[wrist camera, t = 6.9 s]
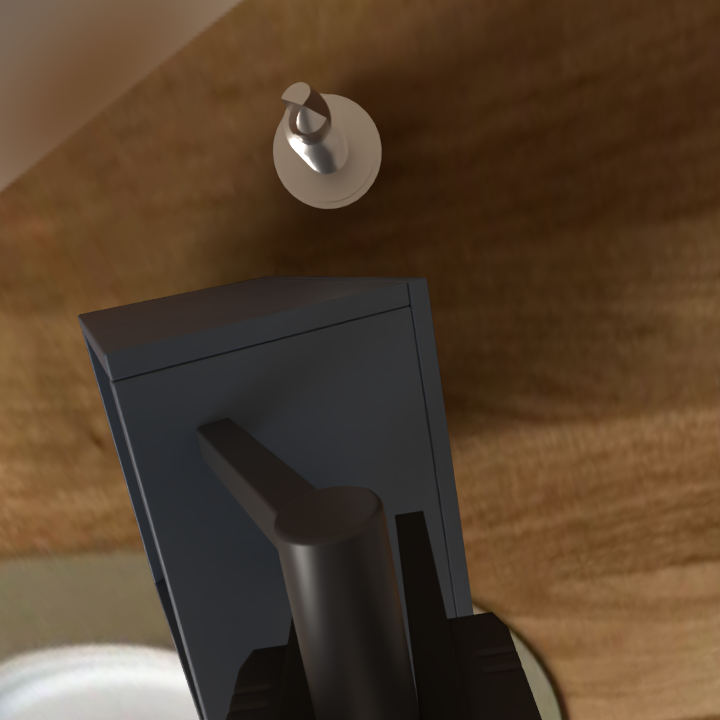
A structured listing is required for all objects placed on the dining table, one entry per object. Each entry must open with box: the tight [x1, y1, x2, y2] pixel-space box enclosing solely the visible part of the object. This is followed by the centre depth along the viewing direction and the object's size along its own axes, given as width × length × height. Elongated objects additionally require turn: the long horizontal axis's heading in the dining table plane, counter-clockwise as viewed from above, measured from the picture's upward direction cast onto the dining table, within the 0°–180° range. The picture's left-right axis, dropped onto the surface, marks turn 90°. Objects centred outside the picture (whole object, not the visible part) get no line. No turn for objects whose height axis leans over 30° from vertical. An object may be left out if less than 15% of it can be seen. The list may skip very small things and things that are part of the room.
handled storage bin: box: [78, 276, 474, 720], centre depth 19 cm, size 22×14×9 cm
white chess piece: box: [273, 82, 382, 209], centre depth 21 cm, size 13×5×5 cm
